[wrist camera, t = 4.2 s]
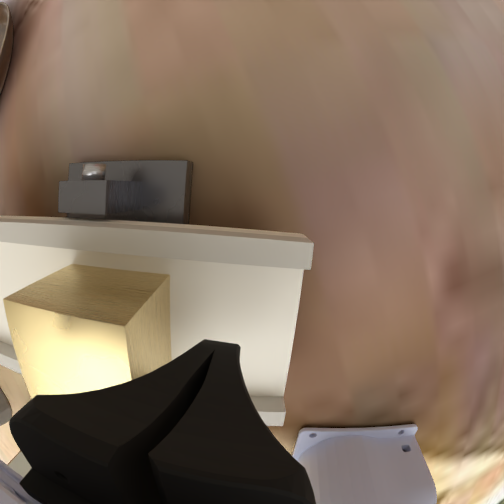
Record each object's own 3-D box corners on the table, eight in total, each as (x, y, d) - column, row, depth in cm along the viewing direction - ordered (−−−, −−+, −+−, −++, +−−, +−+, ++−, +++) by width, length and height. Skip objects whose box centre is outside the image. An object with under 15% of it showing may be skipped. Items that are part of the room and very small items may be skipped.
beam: (302, 233, 13) (319, 247, 10) (278, 396, 15) (284, 436, 12) (-34, 214, 12) (-66, 221, 9) (-17, 333, 14) (-42, 350, 11)
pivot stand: (192, 162, 15) (160, 152, 11) (187, 395, 18) (166, 438, 14) (78, 164, 16) (30, 161, 11) (91, 368, 19) (60, 399, 14)
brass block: (169, 274, 12) (124, 326, 7) (172, 372, 13) (144, 445, 8) (72, 263, 12) (2, 299, 7) (84, 355, 13) (36, 410, 8)
